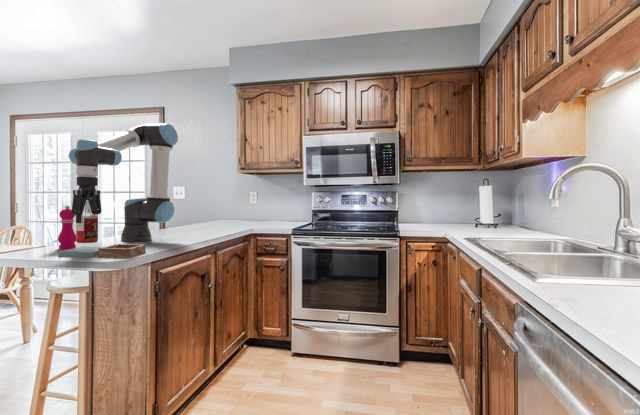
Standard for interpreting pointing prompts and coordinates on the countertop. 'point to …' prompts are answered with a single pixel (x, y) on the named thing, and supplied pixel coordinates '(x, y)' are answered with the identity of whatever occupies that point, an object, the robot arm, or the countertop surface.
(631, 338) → the countertop surface
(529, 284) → the countertop surface
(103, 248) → the collar
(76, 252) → the plate
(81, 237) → the canned food
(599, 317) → the countertop surface
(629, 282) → the countertop surface
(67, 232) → the pepper mill
